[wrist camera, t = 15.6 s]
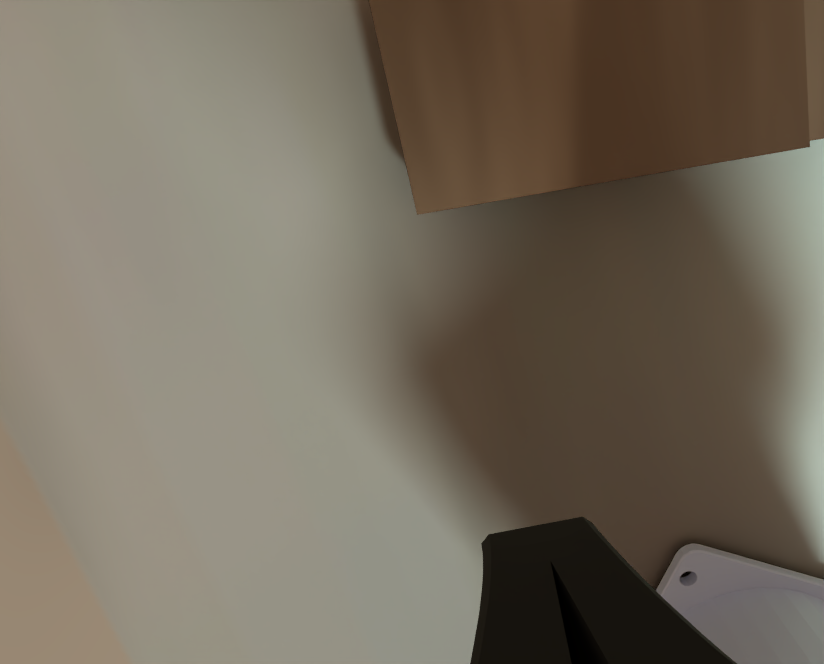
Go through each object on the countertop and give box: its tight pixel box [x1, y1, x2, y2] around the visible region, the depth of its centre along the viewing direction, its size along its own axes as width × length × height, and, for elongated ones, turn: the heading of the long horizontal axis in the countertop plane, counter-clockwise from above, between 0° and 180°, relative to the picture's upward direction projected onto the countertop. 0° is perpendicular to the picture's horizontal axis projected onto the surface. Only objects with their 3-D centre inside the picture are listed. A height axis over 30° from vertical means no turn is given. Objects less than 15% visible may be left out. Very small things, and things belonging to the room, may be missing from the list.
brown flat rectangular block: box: [369, 0, 810, 215], centre depth 15 cm, size 2×5×8 cm
